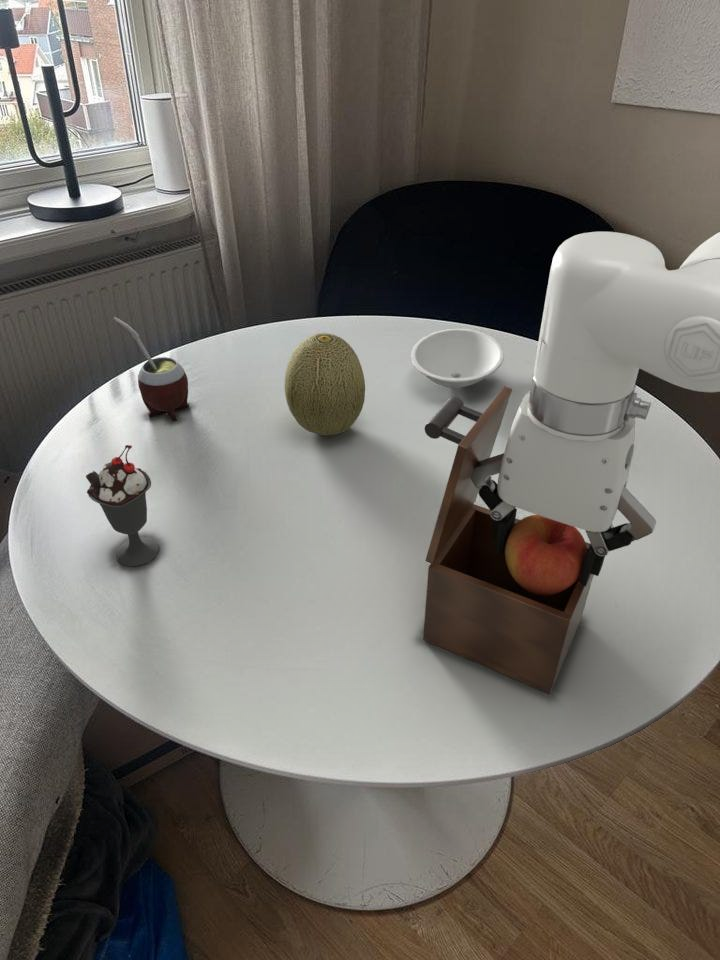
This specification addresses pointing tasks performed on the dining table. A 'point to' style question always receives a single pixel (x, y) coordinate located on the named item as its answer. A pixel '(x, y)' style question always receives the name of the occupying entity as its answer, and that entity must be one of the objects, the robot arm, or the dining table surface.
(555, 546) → the apple
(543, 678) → the chest
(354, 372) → the fruit
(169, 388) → the mate gourd
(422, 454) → the dining table surface
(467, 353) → the dish
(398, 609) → the dining table surface
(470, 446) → the lid
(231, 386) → the dining table surface
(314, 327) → the dining table surface
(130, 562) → the sundae
